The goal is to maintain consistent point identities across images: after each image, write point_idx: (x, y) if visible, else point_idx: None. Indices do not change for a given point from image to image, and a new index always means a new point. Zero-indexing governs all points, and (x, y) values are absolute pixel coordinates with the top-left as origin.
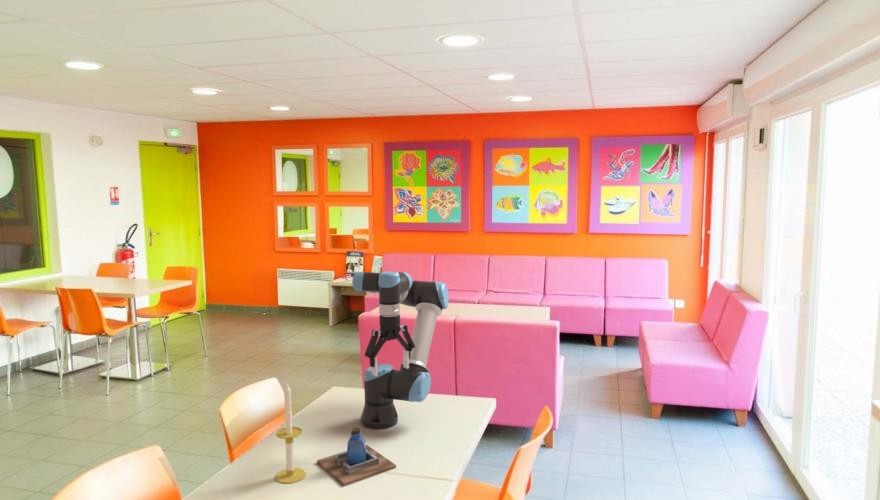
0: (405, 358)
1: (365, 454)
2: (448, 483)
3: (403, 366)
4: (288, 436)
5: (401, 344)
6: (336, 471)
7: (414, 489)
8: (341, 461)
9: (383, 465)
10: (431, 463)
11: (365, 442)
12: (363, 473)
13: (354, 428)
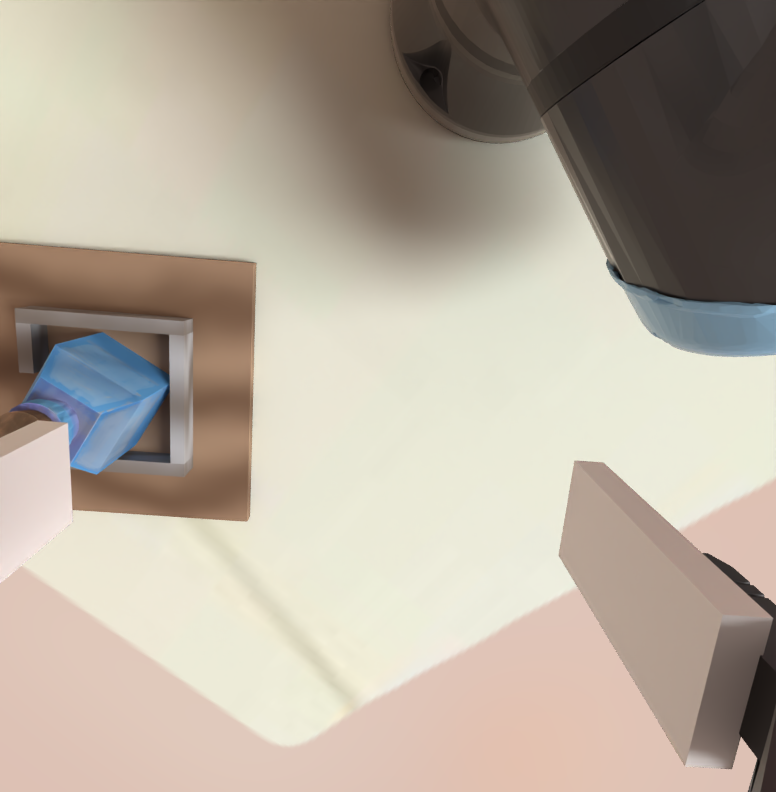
0: (621, 597)
1: (110, 462)
2: (332, 720)
3: (577, 467)
4: None
5: (759, 785)
6: (3, 400)
7: (209, 677)
8: (35, 371)
9: (201, 490)
10: (386, 579)
11: (132, 416)
12: (95, 491)
13: (17, 422)
